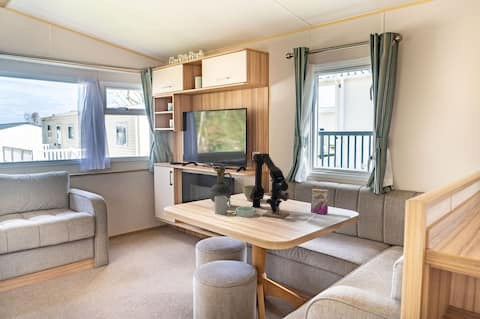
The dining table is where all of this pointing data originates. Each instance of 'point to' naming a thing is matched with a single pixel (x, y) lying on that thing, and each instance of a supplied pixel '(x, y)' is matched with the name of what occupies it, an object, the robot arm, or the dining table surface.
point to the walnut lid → (277, 213)
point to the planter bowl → (248, 191)
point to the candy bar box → (319, 201)
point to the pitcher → (220, 185)
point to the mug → (221, 204)
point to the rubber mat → (277, 218)
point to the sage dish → (245, 211)
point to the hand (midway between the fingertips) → (275, 212)
